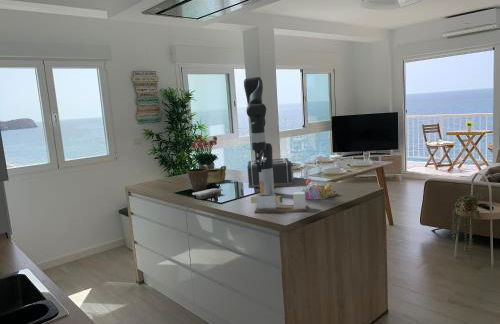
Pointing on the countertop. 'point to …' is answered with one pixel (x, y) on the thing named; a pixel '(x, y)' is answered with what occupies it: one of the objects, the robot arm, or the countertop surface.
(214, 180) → the woven basket
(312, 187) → the candy landscape model
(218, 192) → the packaged product
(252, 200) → the sliding latch bolt
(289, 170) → the toaster
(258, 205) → the sleeve
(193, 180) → the plant pot
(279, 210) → the base board
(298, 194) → the socket
